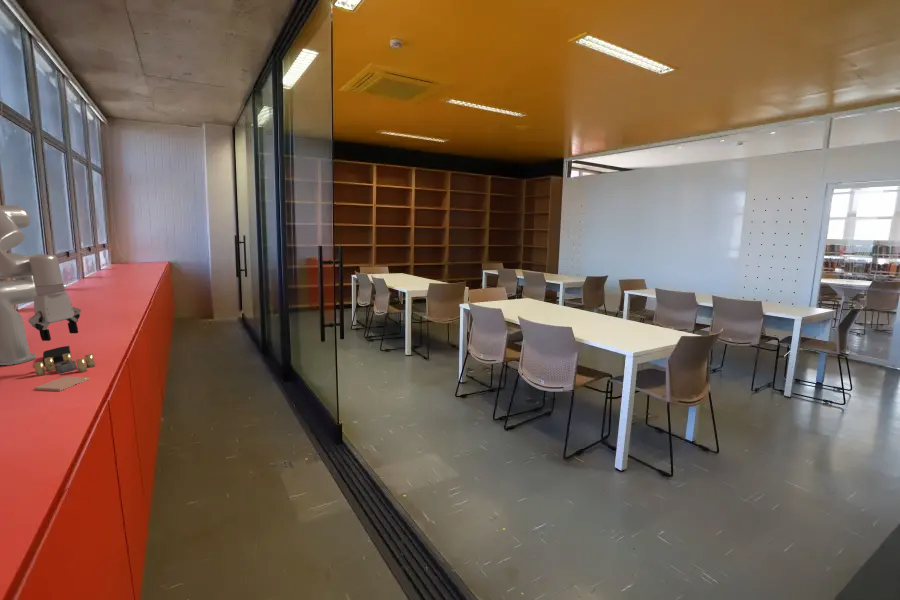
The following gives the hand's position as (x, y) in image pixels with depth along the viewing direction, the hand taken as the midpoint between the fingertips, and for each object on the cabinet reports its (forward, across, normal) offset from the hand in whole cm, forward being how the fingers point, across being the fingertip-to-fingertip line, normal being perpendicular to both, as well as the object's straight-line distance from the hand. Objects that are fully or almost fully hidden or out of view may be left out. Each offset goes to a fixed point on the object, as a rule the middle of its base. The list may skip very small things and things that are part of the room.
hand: (60, 336), depth 160 cm
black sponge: (+13, -11, -18) cm, 25 cm away
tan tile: (+13, +12, +12) cm, 21 cm away
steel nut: (+13, 0, -1) cm, 13 cm away
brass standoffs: (+13, 0, -1) cm, 13 cm away
